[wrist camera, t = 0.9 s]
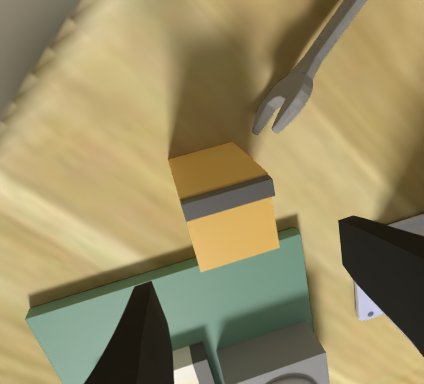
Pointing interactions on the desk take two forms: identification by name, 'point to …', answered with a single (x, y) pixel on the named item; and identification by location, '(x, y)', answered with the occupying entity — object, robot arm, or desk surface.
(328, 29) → the combination wrench
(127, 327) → the robot arm
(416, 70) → the desk surface
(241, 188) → the plug
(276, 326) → the board
